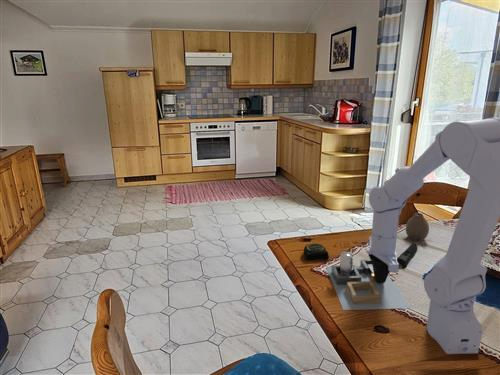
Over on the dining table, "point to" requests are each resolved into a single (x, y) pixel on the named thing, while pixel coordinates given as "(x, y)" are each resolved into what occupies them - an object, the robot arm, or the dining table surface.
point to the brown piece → (363, 299)
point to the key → (371, 272)
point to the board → (386, 290)
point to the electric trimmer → (407, 255)
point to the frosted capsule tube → (346, 264)
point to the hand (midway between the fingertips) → (380, 281)
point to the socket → (355, 271)
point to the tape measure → (315, 252)
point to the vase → (417, 227)
